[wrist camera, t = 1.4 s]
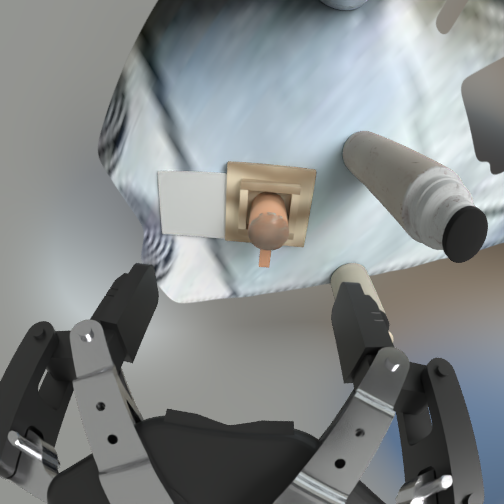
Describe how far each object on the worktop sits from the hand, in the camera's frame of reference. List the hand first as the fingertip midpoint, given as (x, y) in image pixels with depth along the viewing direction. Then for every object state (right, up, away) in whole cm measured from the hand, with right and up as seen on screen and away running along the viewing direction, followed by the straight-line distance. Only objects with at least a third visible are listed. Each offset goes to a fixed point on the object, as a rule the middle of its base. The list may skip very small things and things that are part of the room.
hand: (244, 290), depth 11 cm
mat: (-10, +10, +35) cm, 37 cm away
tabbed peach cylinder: (+3, +7, +34) cm, 35 cm away
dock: (+3, +10, +34) cm, 36 cm away
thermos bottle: (+19, +18, +28) cm, 38 cm away
